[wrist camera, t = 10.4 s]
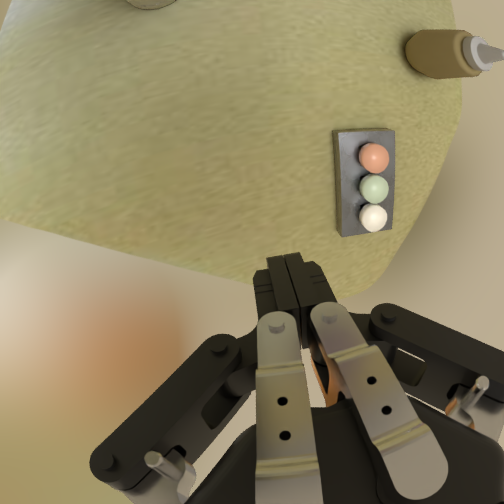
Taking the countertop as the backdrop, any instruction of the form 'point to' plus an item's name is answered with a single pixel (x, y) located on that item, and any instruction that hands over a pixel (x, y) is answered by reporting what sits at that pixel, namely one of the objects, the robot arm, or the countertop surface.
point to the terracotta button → (373, 157)
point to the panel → (350, 174)
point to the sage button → (373, 188)
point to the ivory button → (372, 217)
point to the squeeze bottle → (450, 54)
